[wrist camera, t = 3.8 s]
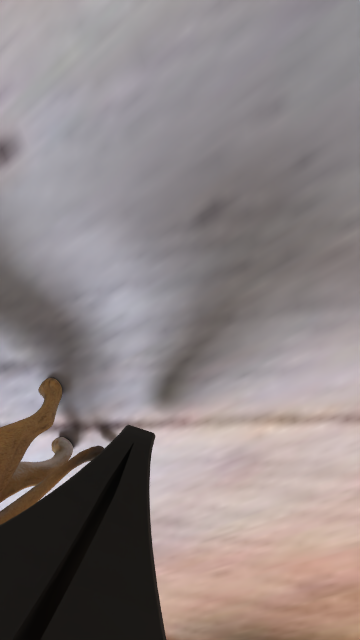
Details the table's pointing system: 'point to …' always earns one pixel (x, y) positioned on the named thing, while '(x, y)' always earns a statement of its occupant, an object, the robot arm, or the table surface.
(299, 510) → the table surface
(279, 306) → the table surface
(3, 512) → the lion figurine
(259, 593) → the table surface
